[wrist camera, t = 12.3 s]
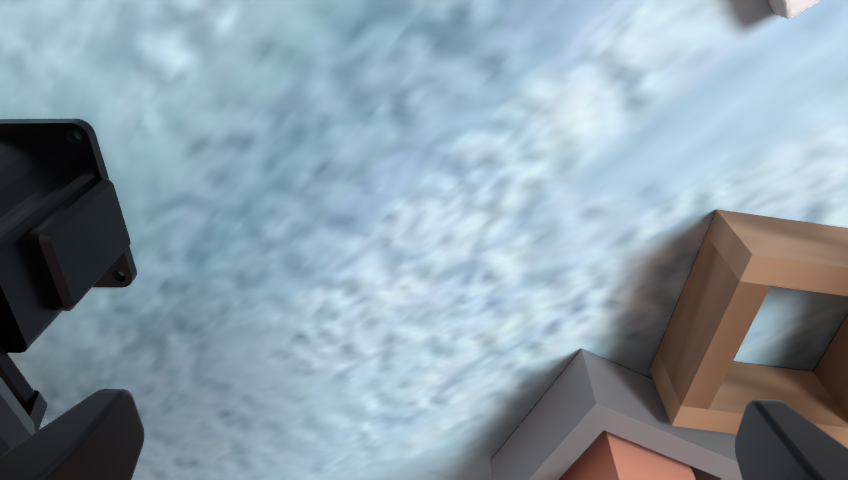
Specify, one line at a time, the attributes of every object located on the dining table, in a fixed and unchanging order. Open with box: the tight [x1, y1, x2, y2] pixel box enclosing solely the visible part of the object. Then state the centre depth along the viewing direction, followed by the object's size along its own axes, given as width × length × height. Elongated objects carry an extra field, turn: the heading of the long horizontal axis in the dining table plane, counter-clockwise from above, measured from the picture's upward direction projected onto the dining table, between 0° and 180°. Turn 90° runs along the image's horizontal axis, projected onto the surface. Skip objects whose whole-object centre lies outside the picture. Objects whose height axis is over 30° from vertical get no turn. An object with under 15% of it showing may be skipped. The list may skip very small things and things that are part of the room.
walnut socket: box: [650, 210, 848, 448], centre depth 22 cm, size 7×7×3 cm
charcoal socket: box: [491, 349, 743, 480], centre depth 26 cm, size 7×7×3 cm
